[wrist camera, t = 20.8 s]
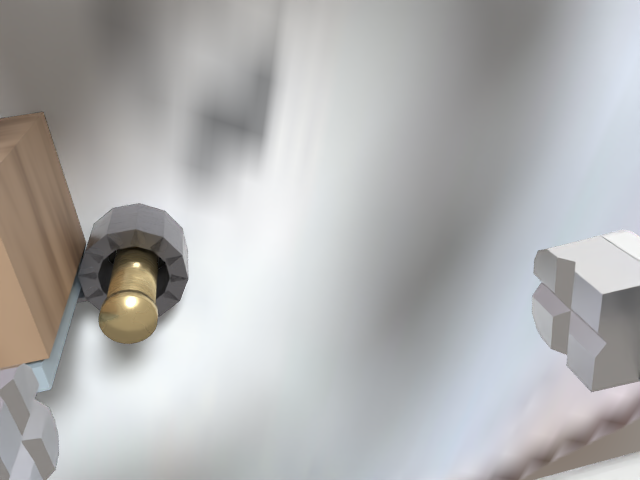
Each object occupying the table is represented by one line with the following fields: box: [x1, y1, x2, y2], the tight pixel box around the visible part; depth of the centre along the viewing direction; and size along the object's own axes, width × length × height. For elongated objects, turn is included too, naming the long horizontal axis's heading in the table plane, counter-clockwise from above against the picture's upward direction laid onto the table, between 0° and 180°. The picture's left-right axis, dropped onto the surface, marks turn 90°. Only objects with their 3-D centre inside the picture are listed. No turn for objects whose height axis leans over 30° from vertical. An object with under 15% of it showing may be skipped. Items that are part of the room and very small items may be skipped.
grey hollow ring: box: [77, 203, 188, 317], centre depth 43 cm, size 10×7×4 cm, turn 96°
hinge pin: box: [99, 246, 159, 344], centre depth 40 cm, size 3×3×10 cm
